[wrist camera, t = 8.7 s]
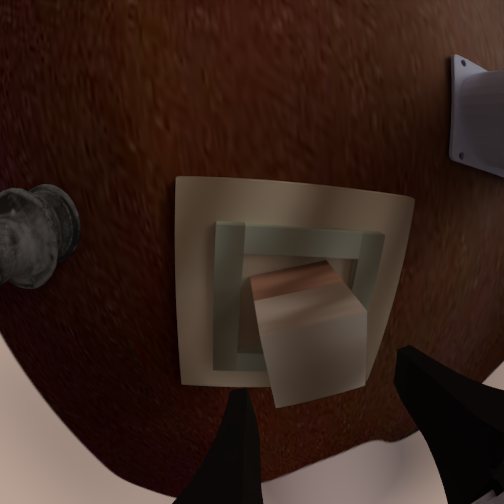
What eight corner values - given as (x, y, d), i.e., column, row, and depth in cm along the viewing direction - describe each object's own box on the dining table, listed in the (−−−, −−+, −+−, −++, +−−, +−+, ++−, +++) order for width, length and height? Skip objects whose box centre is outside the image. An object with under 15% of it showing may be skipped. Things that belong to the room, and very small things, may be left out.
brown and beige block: (326, 259, 17) (367, 311, 12) (331, 323, 19) (364, 385, 13) (249, 276, 17) (259, 336, 12) (263, 339, 19) (276, 408, 13)
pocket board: (407, 196, 18) (422, 201, 16) (363, 372, 22) (370, 386, 20) (178, 176, 16) (173, 179, 15) (183, 375, 21) (180, 392, 19)
